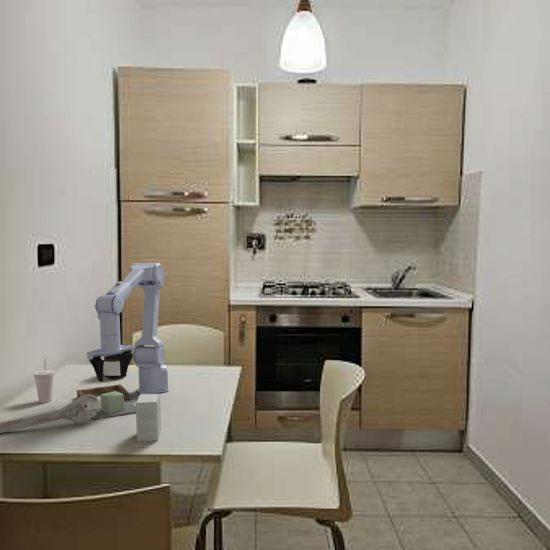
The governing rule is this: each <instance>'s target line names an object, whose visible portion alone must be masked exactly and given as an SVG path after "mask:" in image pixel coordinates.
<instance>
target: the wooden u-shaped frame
mask: <svg viewBox="0 0 550 550" xmlns="http://www.w3.org/2000/svg"><path fill="white" fill-rule="evenodd" d="M114 391H117V392H119V393H122V394H124V402H128V401H130V392H129V391H128V390H127V389H126V388H125V387H124V386H123V385H122V384H121V383H120V384H114V385H106V386H98V387H89V388H84V389H77V390H76V397H77V399H78V398H79V397H81V396H82V395H86V394H91V395H94V396H96V397H97V396H101V394H105V393H109V392H114ZM86 407H88V403H87V404H86V405H85V407H84V408H86Z"/></svg>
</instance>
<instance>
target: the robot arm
mask: <svg viewBox="0 0 550 550" xmlns="http://www.w3.org/2000/svg"><path fill="white" fill-rule="evenodd" d="M164 274H165V270H164V268H163V265H162V264H161V263H160V262H155V263H154V262H151V263H150V262H149V263H147V262H145V263H144V262H143V263H141V262H140V263H139V262H133V263H132V264H131V266H130V267H129V272H128V275H126V277H125V278H124V280H123V281H116V282H115V284H114V285H113V286H112V287H111V288H110V289H109V290H108V291H107V292H106V293H105V294H101V295H99V296H98V297H97V298H96V299H95V300H96V301H95V304H94V309H95V312H96V313H97V318H98V320H99V331H100V334H99V335H100V348H99V349H94V350H91V351H87V352H86V359H88V361H89V363H90V364H91V366H92V367H93V371H94V372H95V376H96V380H97V381H98V382H100V383H103V382H104V375H103V365H104V360H102V359H103V358H104V356H109V355H115V354H118V357H119V362H120V374H121V376H123V377H124V378H127V373H128V368H129V365H130V364H131V360H132V361H133V363H134V364H135V365H136V367H137V368H138V388H135V391H136V392H137V393H139V395H140V394H160V393H166V392H169V381H168V379H169V377H168V376H169V375H168V367H167V365H166V363H165V364H164V361H165V360H166V359H165V358H166V352H165V343H164V341H162V340H161V339H159V338H158V325H159V323H158V322H159V312H160V311H159V310H160V309H159V306H160V292H161V291H160V290H161V288H163V287H164V277H165V275H164ZM136 286H137V287H139V288H142V290H143V291H144V298H143V310H142V311H143V313H142V330H141V337H140V338H139V339H137V340H136V341H135V342H134V345H133V344H127V345H126V344H125V345H123V346H121V345H122V343H121V323H120V322H121V321H120V319H121V318H120V313H122V312H123V308H124V306H125V302H126V301H127V300H128V298H130V296H132V293H133V289H134V288H135V287H136ZM102 357H103V358H102Z"/></svg>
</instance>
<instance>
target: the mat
mask: <svg viewBox="0 0 550 550" xmlns="http://www.w3.org/2000/svg"><path fill="white" fill-rule="evenodd" d="M87 411H92V412H96V413H97V414H96V416H94V417H93V418H91V419H90V420H92V421H94V420H96V421H97V420H101V419H102V418H103V419H108V417H109V418H114V416H115V417H120V416H126V415H133V414H136V404H134V403H133V402H131V403H126V404H125V403H124V410H123V411H119V412H115V413H111V414H108V413H106V412H104V411H101V407H99V408H92V409H87V410H86V412H87Z"/></svg>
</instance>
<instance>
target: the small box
mask: <svg viewBox="0 0 550 550" xmlns="http://www.w3.org/2000/svg"><path fill="white" fill-rule="evenodd" d="M135 406H136V413H135V420H136V441H137V443H138V442H139V443H140V442H157V441H159V437H160V434H161V432H162V419H161V418H162V414H161V413H162V410H161V394H160V393H154V394H140V393H139V396H138V398H137V399H136V402H135Z"/></svg>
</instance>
